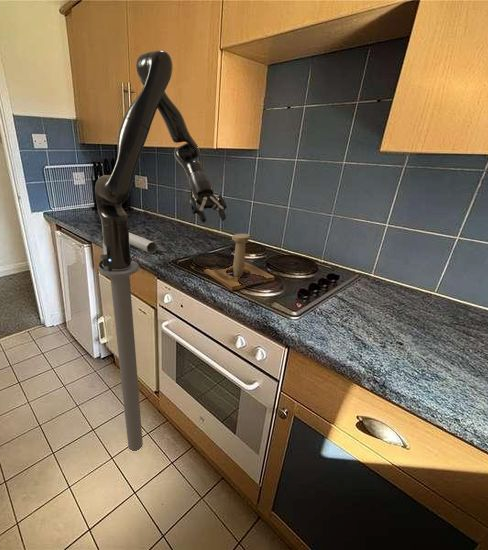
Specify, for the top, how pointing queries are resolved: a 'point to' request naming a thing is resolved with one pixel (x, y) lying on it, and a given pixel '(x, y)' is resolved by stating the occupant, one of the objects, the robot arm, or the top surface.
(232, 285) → the base pad
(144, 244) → the tube
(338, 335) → the top surface
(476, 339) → the top surface
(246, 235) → the handle
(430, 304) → the top surface
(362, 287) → the top surface
